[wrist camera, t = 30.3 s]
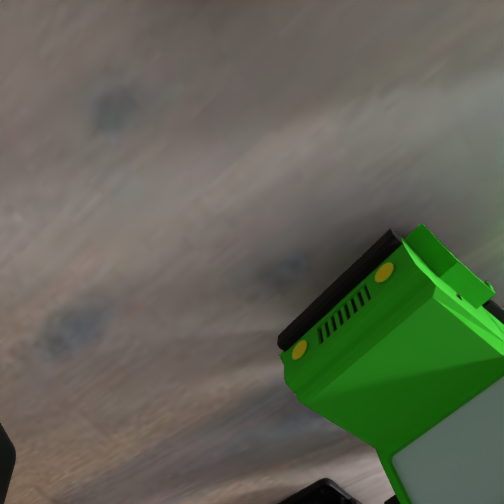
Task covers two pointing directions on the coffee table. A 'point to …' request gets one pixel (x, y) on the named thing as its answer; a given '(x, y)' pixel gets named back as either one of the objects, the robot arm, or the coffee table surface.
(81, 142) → the coffee table surface
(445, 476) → the toy car
